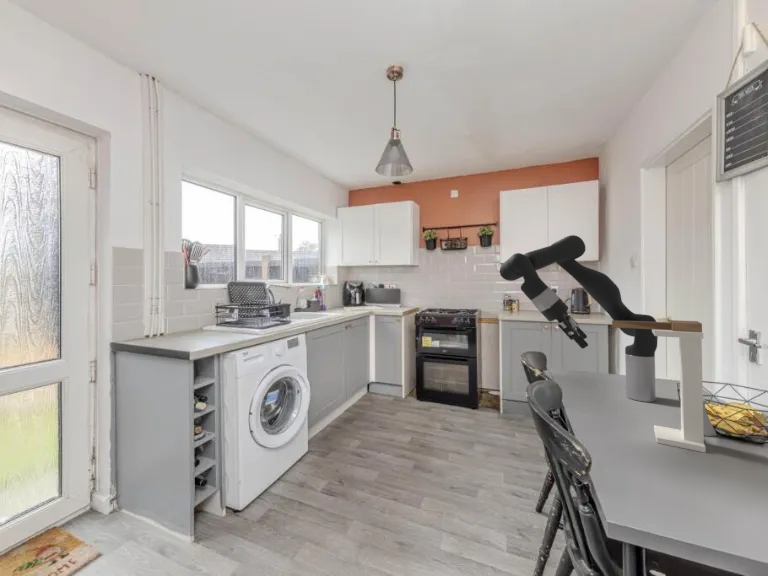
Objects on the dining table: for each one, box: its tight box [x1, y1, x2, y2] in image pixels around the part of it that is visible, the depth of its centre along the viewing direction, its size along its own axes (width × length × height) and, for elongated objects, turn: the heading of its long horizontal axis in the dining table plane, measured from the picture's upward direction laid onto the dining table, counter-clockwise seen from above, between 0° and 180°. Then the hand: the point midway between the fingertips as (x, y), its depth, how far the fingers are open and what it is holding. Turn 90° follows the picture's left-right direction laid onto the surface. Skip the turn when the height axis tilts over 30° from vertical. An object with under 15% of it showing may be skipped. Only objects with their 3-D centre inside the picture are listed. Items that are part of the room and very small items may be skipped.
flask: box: [703, 398, 717, 437], centre depth 99 cm, size 7×7×10 cm
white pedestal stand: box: [652, 329, 707, 454], centre depth 94 cm, size 10×10×32 cm
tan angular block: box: [611, 319, 703, 333], centre depth 97 cm, size 7×20×2 cm, turn 54°
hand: (585, 342), depth 105 cm, fingers open, 8 cm apart
